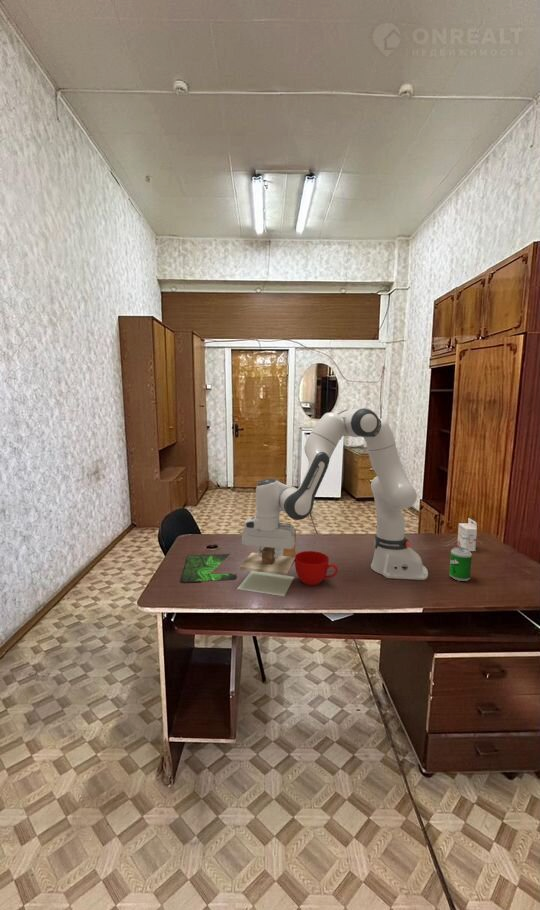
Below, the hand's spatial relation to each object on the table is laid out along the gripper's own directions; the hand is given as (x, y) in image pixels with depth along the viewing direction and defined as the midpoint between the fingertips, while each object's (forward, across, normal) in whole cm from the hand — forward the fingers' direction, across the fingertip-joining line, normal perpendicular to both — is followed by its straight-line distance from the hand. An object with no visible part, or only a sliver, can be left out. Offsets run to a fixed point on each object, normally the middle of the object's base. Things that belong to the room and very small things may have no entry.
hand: (268, 557), depth 144 cm
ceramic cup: (+11, -17, -6) cm, 21 cm away
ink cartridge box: (+13, -80, -62) cm, 102 cm away
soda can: (+13, -71, -26) cm, 77 cm away
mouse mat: (+10, +28, -7) cm, 30 cm away
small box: (+11, +1, -28) cm, 30 cm away
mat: (+10, +1, 0) cm, 11 cm away
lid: (+3, 0, 0) cm, 3 cm away
